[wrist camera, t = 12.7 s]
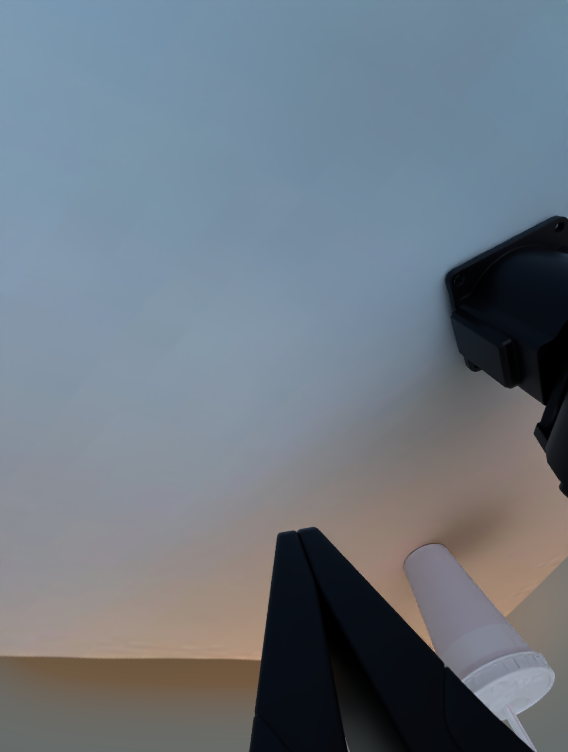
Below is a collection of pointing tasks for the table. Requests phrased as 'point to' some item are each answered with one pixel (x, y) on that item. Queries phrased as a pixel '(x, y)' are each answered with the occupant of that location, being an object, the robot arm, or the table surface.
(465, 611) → the smoothie
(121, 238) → the table surface
